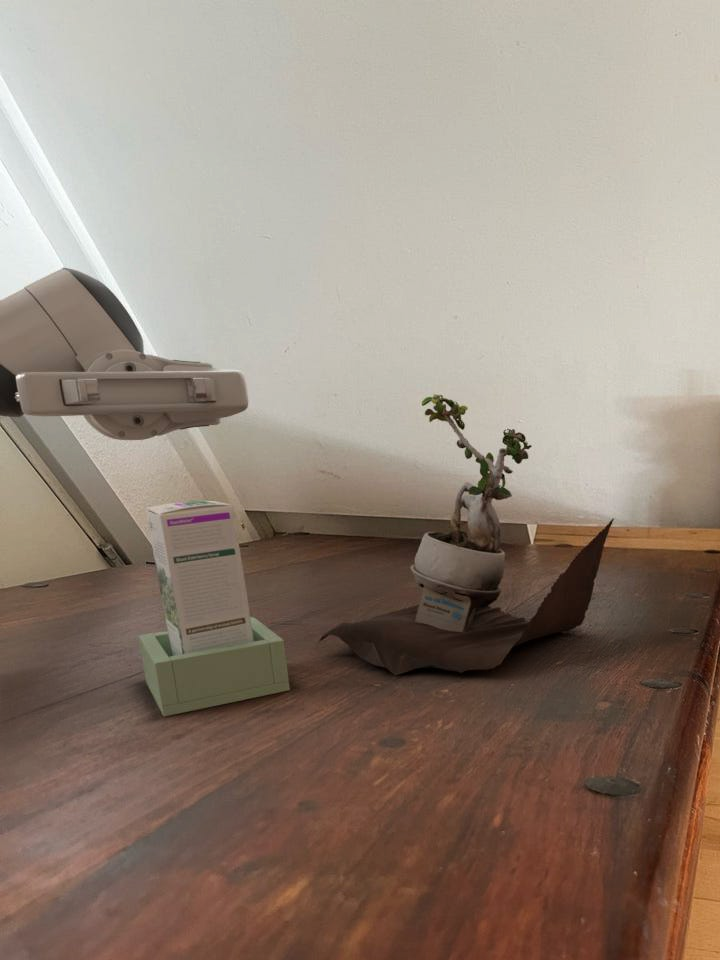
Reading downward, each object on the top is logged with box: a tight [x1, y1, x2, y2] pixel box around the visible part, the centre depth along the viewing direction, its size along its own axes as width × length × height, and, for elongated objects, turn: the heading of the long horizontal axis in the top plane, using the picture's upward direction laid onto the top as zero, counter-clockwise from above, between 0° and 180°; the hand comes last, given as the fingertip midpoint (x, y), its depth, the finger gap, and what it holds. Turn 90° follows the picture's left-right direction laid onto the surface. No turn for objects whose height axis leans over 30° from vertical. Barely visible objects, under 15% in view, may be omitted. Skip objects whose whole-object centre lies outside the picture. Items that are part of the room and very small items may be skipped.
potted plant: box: [315, 393, 615, 676], centre depth 72 cm, size 20×19×25 cm
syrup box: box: [145, 499, 254, 656], centre depth 63 cm, size 6×6×14 cm
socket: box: [137, 616, 291, 717], centre depth 64 cm, size 10×10×4 cm
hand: (148, 388), depth 68 cm, fingers open, 8 cm apart
